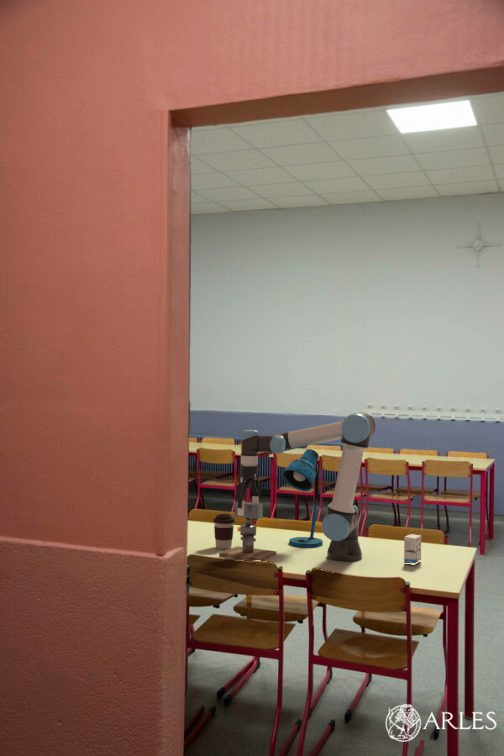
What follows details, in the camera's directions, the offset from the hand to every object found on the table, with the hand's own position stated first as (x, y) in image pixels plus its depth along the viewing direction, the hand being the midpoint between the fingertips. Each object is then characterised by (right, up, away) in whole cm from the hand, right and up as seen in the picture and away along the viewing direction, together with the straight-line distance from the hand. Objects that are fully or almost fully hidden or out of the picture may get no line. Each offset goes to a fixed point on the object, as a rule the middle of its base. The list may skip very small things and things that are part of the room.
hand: (248, 513), depth 328 cm
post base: (0, -19, 0) cm, 19 cm away
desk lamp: (+26, -19, +23) cm, 40 cm away
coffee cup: (-11, -19, +15) cm, 26 cm away
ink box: (+70, -20, -10) cm, 74 cm away
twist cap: (0, -9, 0) cm, 9 cm away
